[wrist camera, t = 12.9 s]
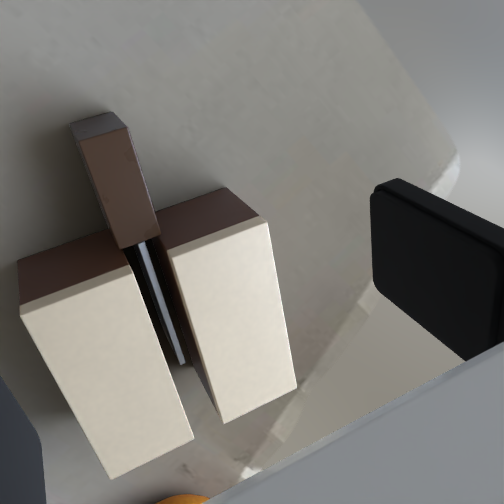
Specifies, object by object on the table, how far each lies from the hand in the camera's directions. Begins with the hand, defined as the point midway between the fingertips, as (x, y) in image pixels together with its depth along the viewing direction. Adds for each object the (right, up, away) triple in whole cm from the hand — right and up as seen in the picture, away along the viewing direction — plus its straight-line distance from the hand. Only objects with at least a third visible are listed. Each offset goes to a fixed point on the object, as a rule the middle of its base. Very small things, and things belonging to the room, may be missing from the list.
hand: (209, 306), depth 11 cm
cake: (-5, -2, +21) cm, 22 cm away
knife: (-6, +3, +18) cm, 19 cm away
